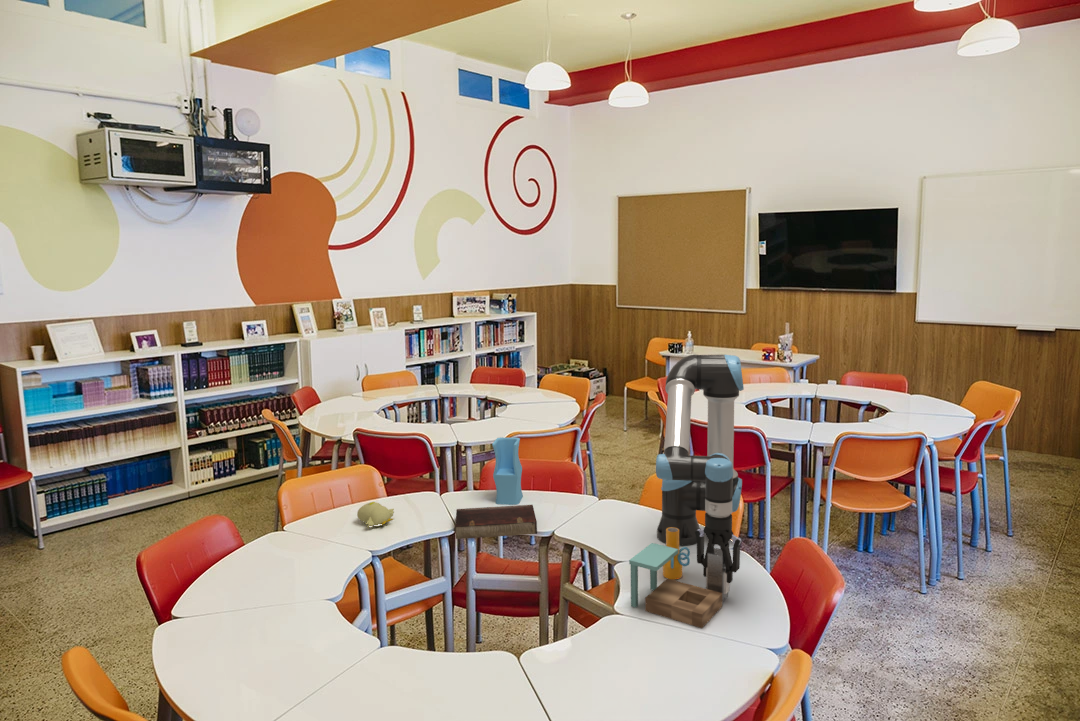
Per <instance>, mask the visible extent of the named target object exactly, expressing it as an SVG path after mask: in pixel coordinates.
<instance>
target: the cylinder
mask: <svg viewBox="0 0 1080 721" xmlns="http://www.w3.org/2000/svg"><path fill="white" fill-rule="evenodd" d="M665 546H667V547H672V548H676V549H678V554H677V555H675V556H674V557H673V558H672V559H671V560H669V561H668V562H667V563H666V564H665V565H663V566H662V576H663V577H664V578H665V579H667V578H668V579H671V580H675V581H676V580H680V579H681V578H682V577H683V567H688V566H689V565H690V563H691V559H690V554H691V550H690V549H689V548H690V547H689V548H688V546H683V547H680V545H679V529H678V528H675V527H669V528H667V529H666V543H665ZM684 550H685V551H686V552H687V553H686V552H684ZM682 556H683V557H682ZM685 560H686V563H683V562H682V561H685Z"/></svg>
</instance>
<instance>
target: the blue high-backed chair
mask: <svg viewBox="0 0 1080 721" xmlns="http://www.w3.org/2000/svg"><path fill="white" fill-rule="evenodd" d="M520 440H521V438H520V437H503V436H502V437H497V438H496V439H495V440H494V441H493V442H492V443H491V444H492V445H491V446H492V449H493V451H494V455H495V465H494V468H493V469H494V470H493V474H492V477H493V481H494V484H495V489H496V496H495V504H496V505H505V506H517V505H520V503H521V501H522V499H523V498H524V495H523V491H522V475H523V474H522V473H523V466H522V464H521V460H520V458H519V457H520V456H519V446H520V443H521V442H520Z"/></svg>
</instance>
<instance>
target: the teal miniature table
mask: <svg viewBox="0 0 1080 721" xmlns="http://www.w3.org/2000/svg"><path fill="white" fill-rule="evenodd" d="M677 554H678V549H676V548H672V547H667V546H666V545H662V544H659V543H653V542H650V544H649V545H647V546H646V547H644V548H643V549H642V550H640V551H639V552H638V553H637V554H635V555H633V557H631V558H630V559H629V561H628V565H630V607H633V608H637V607H638V606H639V568H643V569H646V570H649V575H650V576H649V577H650V578H649V587H650V590H652V591H654V590H655V589H656V588H657V587H658V571H659V570H660V569H661V568H663V565H665V564H666V563H667V562H668V561H669V560H671V559H672V558H673V557H674V556H675V555H677Z"/></svg>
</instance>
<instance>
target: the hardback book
mask: <svg viewBox="0 0 1080 721" xmlns="http://www.w3.org/2000/svg"><path fill="white" fill-rule="evenodd" d="M455 511H456V512H455V526H454V527H455V539H456V540H464V539H478V538H492V537H493V538H494V537H509V536H525V535H538V521H537V517H536V514H535V509H534V505H533V504H521V505H520V504H517V505H504V506H487V507H469V508H467V507H466V508H456V510H455Z"/></svg>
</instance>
